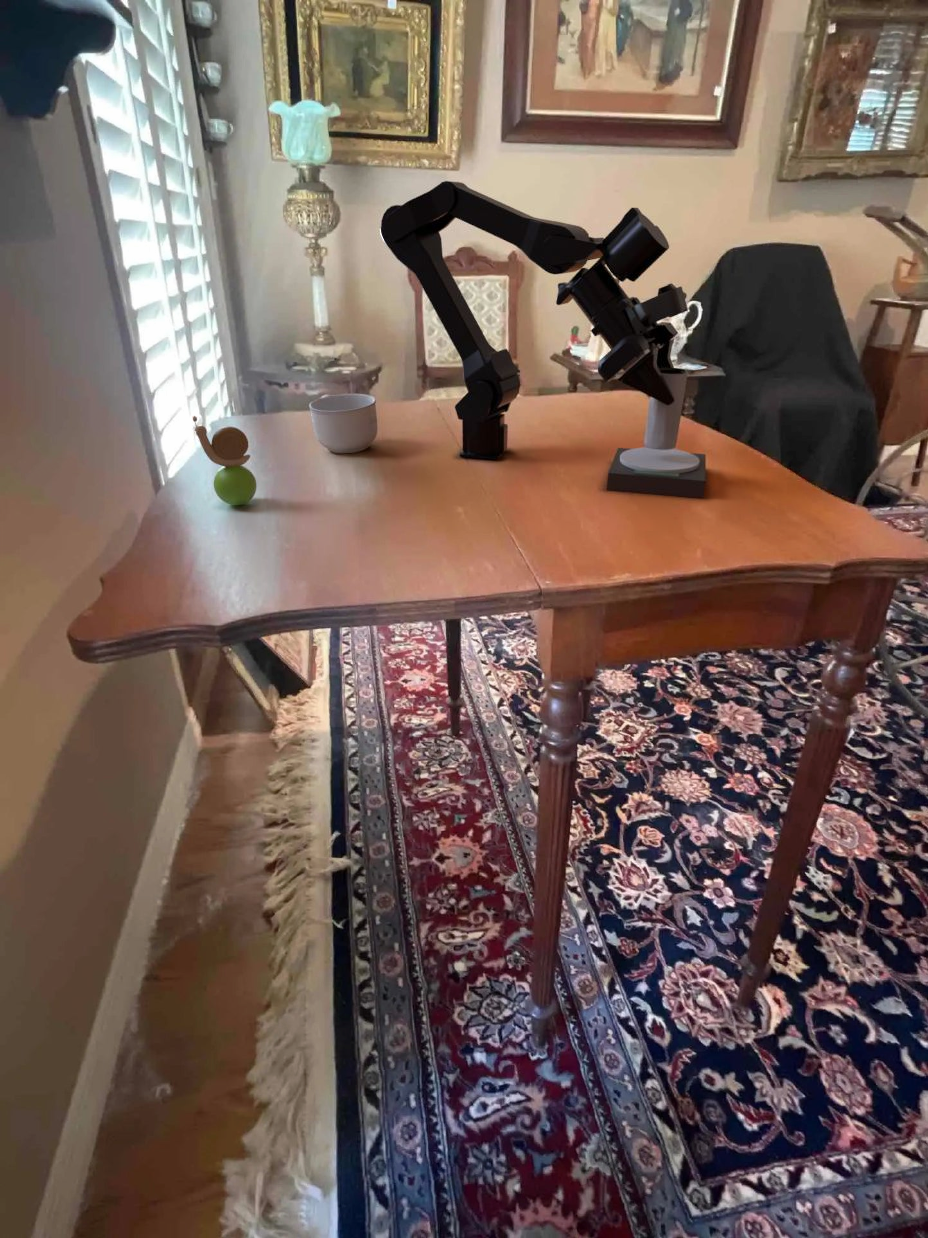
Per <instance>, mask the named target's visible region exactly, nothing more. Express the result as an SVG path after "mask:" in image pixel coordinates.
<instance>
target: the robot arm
mask: <svg viewBox="0 0 928 1238" xmlns="http://www.w3.org/2000/svg"><path fill="white" fill-rule="evenodd" d="M455 219H458V220H460V221H462V222H464V223H466V224H468V225H471V226H473V227H475V228H477V229H479V230H481V231H484V232H485V233H488V234H490V235H492V236H494V237H497V238H499V239H500V240H503V241H504V242H507V243H509V244H512V245H513V246H515V247H517V248H518V249H519V250H520V251H521V252H522V253H523V255H525V256H526V257H527V258H528V260H530V261H531V262H532V263H534V264H535V265H537V266H538V267H539V268H540V269H542V270H543V271H545V272H546V273H548V274H550V275H563V274H570V273H574V272H575V274H574V276H572V277H571V279H570V280H569V281H568V282H565V281H563V282H559V283H557V294H556V299H555V305H557V306H560V305H566V304H568V303H570V302H571V301H572V300H573V301H574V302H575V304H576V305H577V306H578V308H579V309H580V311H581V312H582V313H583V315H584V316H585V317H586V318H587V320H588V321H589V323H590V324H591V325H592V327H593V328H591V329H590V332H591V334H592V335H593V336H594V337H598V336H600V337H601V338H602V340H603V342H604V343H605V344H606V345H607V347H608V348H609V349H610V350H609V351H608V352H607V353H606V354H604V356H602V358H600V360H598V363H597V373H598V374H599V376H600V377H601V378H602V380H603V381H604V382H605V383H606V384H607V383H608V382H611V381H613V380H614V379H616V377H617V374H618V373H619V372H621V371H623V374H622V375H620V376H619V378H617V379H616V381H617V382H618V383H621V384H624V385H626V386H628V387H631V388H633V389H635V390H637V391H639V392H640V393H643V394H644V395H647V396H648V397H649V398H650V397H652V398H654V399H656V400H658V401H660V402H662V403H664V404H666V405H670V404H672V403H673V402H674V401H675V399H674V397H673V395H672V393H671V391H670V389H669V387H668V385H667V383H666V381H665V380H664V378H663V376H662V374H661V372H660V370H659V368H675V367H674V363H673V361H672V358H671V354H672V350H673V345H674V344H675V339H674V338H675V337H677V335H678V334H679V332H678V330H677V329H676V328H675V326H674V325H673V323H672V322H669V321H668V322H667V321H662V320H664V319H668V318H673V317H675V316H678V315H681V314H683V313H685V312H688V311H689V308H688V305H687V301H686V299H687V297H688V295H687V293H686V292H684V290H683V287H682V286H678V287H676V285H674V283H668V284H667V285H664V286H661V287H659V288H658V290H657V295H656V296H654V297H651V298H649V299H646V300H645V301H641V300H640V299H639V298H638V297H635V296H632V297H629V296H628V294H627V293H626V292H625V290H624V289H623V287H622V286H621V285H620V283H619V282H622V283H624V282H625V281H626V280H629V281H630V282H632V283H634V282H636V281H637V280H638V279H639V278H640V277H641V276H643V274H644V273H645V272H646V271H648V269H649V268H650V267H651V266H652V265H653V264H654V263H656V262H657V261H658V259H660V258H661V257H662V256H663V255H664V254H665V253H666V252H667V251H668V250H669V249H670V244H669V241H668V239H667V237H666V236H665V234H664V233H663V231H662V230H661V229H660V227H659V226H658V225H655V224H654V223H653V222H652V221H651V220H650V219H649V218H648V217H647V216H646V215H645V214H644V213H642V211H641V210H640V209H639V207H631V208H630V209H628V211H627V212H626V213H625V214H624V215H623V216H622V219H621V220H620V221H619V222H618V224H617V225H615V227H614V228H613V229H611V231H610V232H609V233H608V234H607V235H606V236H605V237H592V236H590V235H589V233H588V231H587V230H586V229H584V228H583V227H582V226H580V225H576V224H571V223H566V222H562V221H556V220H551V219H546V218H545V219H544V218H540V217H535V216H532V215H530V214H528V213H525V212H523V211H520V210H519V209H517V208H514V207H513V206H510V205H508V204H505V203H503V202H501V201H499V200H497V199H495V198H492V197H490V196H488V195H486V194H483V193H481V192H479V191H477V190H474V189H472V188H470V187H469V186H467V185H466V184H465V183H464V182H460V181H451V180H444V181H441V182H440V183H439V184H437V185H436V186H434V187H433V188H431V189H430V190H428V191H427V192H425V193H422V194H420V195H418V196H416V197H414V198H411V199H409V200H408V201H406V202H405V203H403V204H395V205H391V206H389V207H388V208H387V209H386V210H385V211H384V213H383V215H382V218H381V222H380V227H379V231H380V236H381V238H382V241H383V242H384V244H385V245H386V247H387V248H388V250H390V252H391V253H392V254H393V256H394V257H395V258H396V259H397V261H398V262H400V263H401V264H402V265H403V266H405V267H406V268H407V269H408V270H410V272H411V273H413V274H414V276H415V277H416V279H417V281H418V283H419V284H420V287H421V288H422V290H423V292H424V294H425V295H426V297H427V299H428V301H429V303H430V304H431V306H432V309H433V310H434V312H435V314H436V316H437V317H438V319H439V322H440V323H441V325H442V326H443V329H444V330H445V332H446V333H447V335H448V337H449V339H450V341H451V343H452V345H453V347H454V348H455V350H456V352H457V354H458V356H459V357H460V360H461V364H462V373H463V375H462V376H463V383H464V385H465V387H466V390H467V393H465V395H464V396H463V397H462V398H461V399H459V401H458V402H457V403H456V404H455V406H454V410H455V413H456V415H457V419H458V420H460V421H461V423H462V424H461V427H462V430H461V431H462V434H461V435H462V439H461V440H462V449H461V451H460V452H459V453H458V454H459V455H458V456H459V457H461V458H469V459H470V458H471V459H482V460H495V461H496V460H499V459H500V458H501V457H502V456H503V454H504V453H505V452H506V451H507V449H508V433H509V431H508V429H509V424H507V423H505V419H506V417H505V416H506V415H505V413H507V412H508V411H509V410H510V406H511V404H512V402H513V401H514V400H515V399H517V397H518V395H519V394H520V389H521V380H520V376H519V374H521V370H520V369H519V368H518V367H517V366H516V365H515V363H514V361H513V359H512V358H513V357H512V356H511V353H510V351H509V350H508V349H507V348H504V349H500V350H498V351H497V350H496V349H495V348H494V347H493V346H492V345H490V343H489V341H488V340H487V338H486V336H485V334H484V332H483V330H482V329H481V327H480V325H479V323H478V321H477V319H476V317H475V315H474V313H473V311H472V310H471V308H470V306H469V304H468V303H467V300H466V299H465V297H464V295H463V293H462V291H461V289H460V288H459V286H458V284H457V282H456V280H455V278H454V276H453V275H452V273H451V270H450V269H449V267H448V264H447V263H446V261H445V259H444V255H443V243H442V237H441V234H440V232H441V231H443V230H445V229H446V228H447V227H448V226H449V225H450V224H452V222H453V221H454V220H455ZM597 259H598V260H597ZM592 260H597V261H595V263H594V264H593V265H592V266H591V267H590V268H587V267H584V266H586V264H587V263H588V261H592ZM577 271H578V272H577ZM617 280H618V281H619V282H618V281H617ZM659 321H661V322H659Z"/></svg>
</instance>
